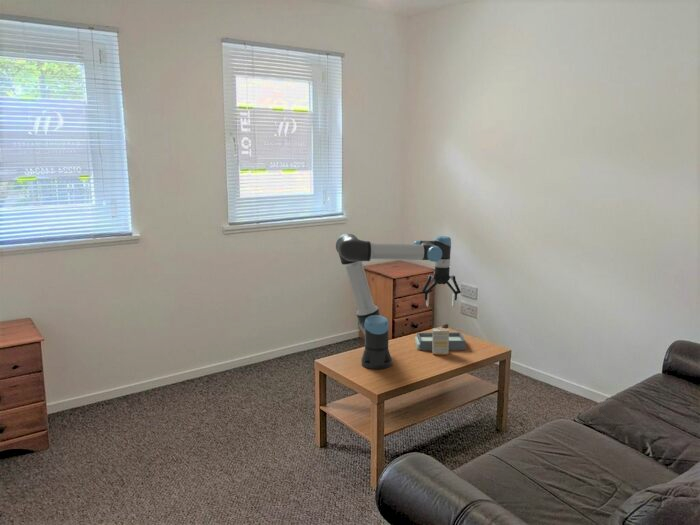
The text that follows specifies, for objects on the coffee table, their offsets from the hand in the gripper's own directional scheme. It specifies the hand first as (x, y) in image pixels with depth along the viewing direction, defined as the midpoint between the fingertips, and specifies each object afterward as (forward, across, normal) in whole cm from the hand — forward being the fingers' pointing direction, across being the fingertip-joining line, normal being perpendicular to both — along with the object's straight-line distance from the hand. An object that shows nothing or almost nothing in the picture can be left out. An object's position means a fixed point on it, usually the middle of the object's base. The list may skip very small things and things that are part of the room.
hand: (440, 306), depth 288 cm
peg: (+24, +5, +6) cm, 25 cm away
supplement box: (+24, 0, -6) cm, 25 cm away
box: (+24, +2, +6) cm, 25 cm away
